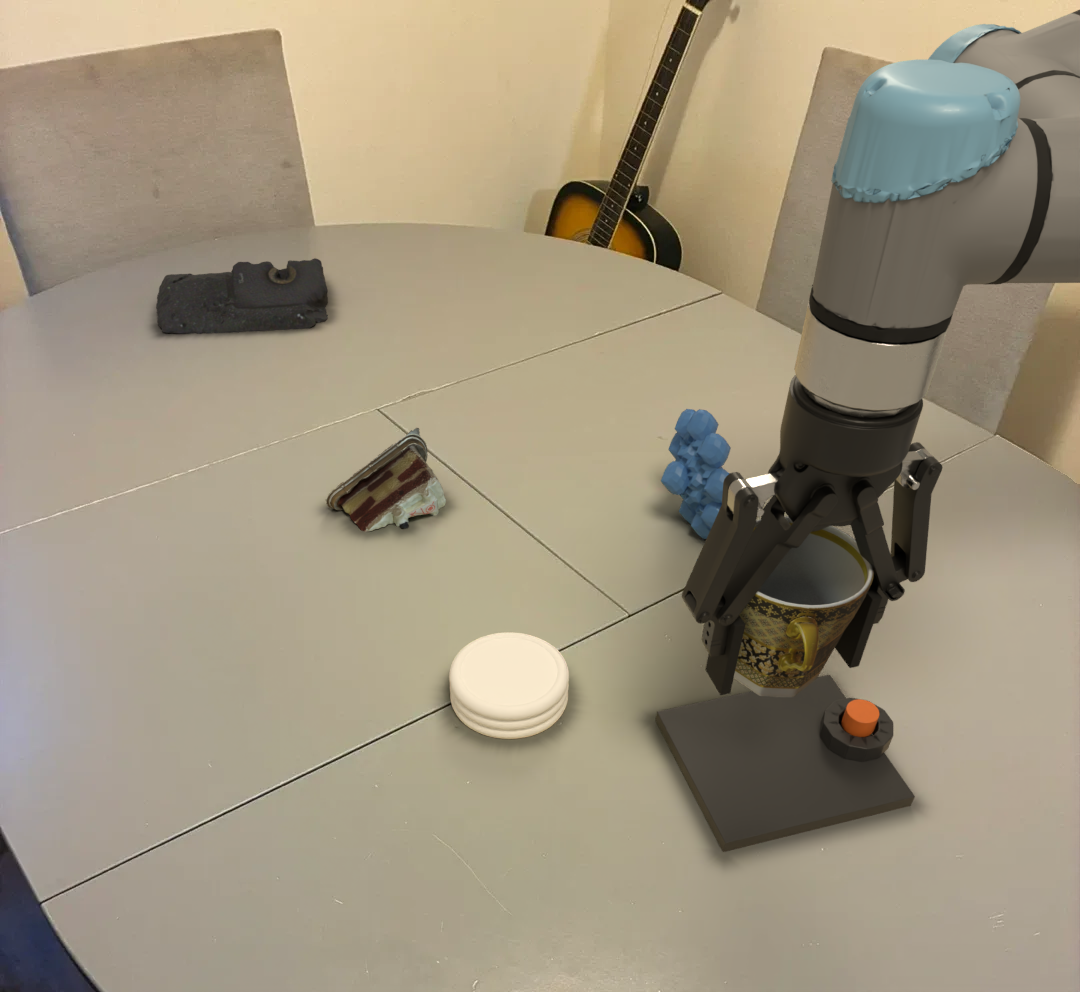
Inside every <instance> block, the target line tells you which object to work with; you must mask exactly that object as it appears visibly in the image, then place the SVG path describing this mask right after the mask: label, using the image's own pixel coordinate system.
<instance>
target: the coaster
mask: <svg viewBox="0 0 1080 992" xmlns="http://www.w3.org/2000/svg"><path fill="white" fill-rule="evenodd" d="M569 670H570V669H569V667H568V664H567V661H566V659H565V657H564V656H563V654H562V653H561V652H560V651H559V650H558V648H557V647H555V646H554V645H553V644H551V643H550V642H548V641H546V640H544V639H543V638H540V637H537V636H535V635H530V634H527V633H523V632H512V631H511V632H510V631H509V632H508V631H506V632H504V631H503V632H495V633H491V634H487V635H483V636H480V637H478V638H476V639H474V640H472V641H470V642H469V643H467V644H466V645H464V646H463V647H462V648H461V649H460V650H458V652H457V653H456V655H454V658H453V660H452V662H451V665H450V668H449V673H448V681H449V694H450V696H449V698H450V699H449V700H450V704H451V706H452V709H453V711H454V713H455V715H456V716H457V718H458V719H459V720H460V721H461V722H462V724H463V725H465V726H466V727H468V728H469V729H470V730H471V731H474V732H476V733H478V734H481V735H483V736H487V737H490V738H494V739H503V740H518V739H524V738H528V737H534V736H535V735H537V734H538V735H539V734H541V733H543V732H544V731H547V730H548V729H549V728H551V727H552V726H553V725H555V724H556V723H557V721H559V720H560V718H561V717H562V716H563V714H564V712H565V709H566V707H567V705H568V700H569V687H570V686H569V683H570V671H569Z"/></svg>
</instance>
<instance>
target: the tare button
mask: <svg viewBox="0 0 1080 992" xmlns="http://www.w3.org/2000/svg"><path fill="white" fill-rule="evenodd" d="M856 699H857V700H853V701H851V702H849V703H848V704H847V707H846V709H845V712H844V715H843V718H842V722H841V723H842V727H843V729H844V730H845V731H846V732H847V733H849V734H850V735H853V736H856V737H867V736H869V735H871V734H872V733H873V731H874V729H875V726H876V723H877V721H878V718H879V710H878V708H877V707H876V706H875V705H876V704H875V703H873V702H872V701H870V702H869V700H867V699H862V700H861V698H856ZM866 700H867V701H866ZM871 702H872V703H871ZM874 704H875V705H874ZM872 735H873V734H872Z"/></svg>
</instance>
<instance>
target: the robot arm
mask: <svg viewBox="0 0 1080 992" xmlns="http://www.w3.org/2000/svg"><path fill="white" fill-rule="evenodd" d="M830 180H831V183H832V184H831V190H830V194H829V200H828V205H827V209H826V216H825V220H824V226H823V231H822V236H821V241H820V245H819V252H818V257H817V262H816V268H815V272H814V277H813V282H812V284H811V287H810V288H811V289H810V294H809V297H808V303H807V306H806V307H807V308H806V313H805V317H804V321H803V326H802V331H801V336H800V339H799V344H798V350H797V354H796V359H795V362H794V363H795V364H794V374H795V375H794V376H793V377H792V378H791V380H790V382H789V387H788V392H787V397H786V401H785V405H784V409H783V414H782V419H781V423H780V431H779V451H778V452H779V453H778V455H777V457H776V459H775V460H774V462H773V463H772V465H771V466H770V468H769V469H768V471H767V473H766V474H761V475H757V476H754V477H749V478H744V477H743V475H742V474H741V472H738V471H732V472H729V473H730V474H729V475H727V476H726V478H725V479H724V482H723V494H722V505H721V508H720V510H719V512H718V514H717V517H716V519H715V521H714V523H713V526H712V528H711V530H710V532H709V534H708V537H707V539H705V541H704V543H703V546H702V548H701V549H700V552H699V554H698V557H697V559H696V561H695V564H694V566H693V568H692V570H691V572H690V574H689V577H688V579H687V581H686V584H685V586H684V588H683V591H682V593H681V599H682V600H683V602H684V603H685V605H686V607H687V609H688V610H689V612H690V613H691V615H692V617H693V618H694V620H695V622H696V623H697V624H703V629H702V634H701V641H702V645H703V646H704V648H705V649H706V651H707V653H708V654H707V659H706V665H705V671H706V674H707V675H708V677H709V678H710V680H711V682H712V683H713V685H714V687H715V688H716V689H715V690H717V692H718V694H719V696H724V695H728V694H731V691H732V687H733V683H734V674H735V669H736V665H737V660H738V656H739V651H740V647H741V642H742V638H743V633H744V629H745V623H744V622H743V620H742V618H741V617H740V613H741V612H742V611H743V610H744V608H745V607H746V606H747V604H748V603H749V602H750V601H751V599H752V598H753V597H754V595H755V594H756V593H757V591H758V590H759V589H760V588H761V586H762V585H763V584H764V582H765V581H766V580H767V579H768V577H769V576H770V575H771V573H772V572H773V571H774V570H775V568H776V567H777V566H778V564H779V563H780V562H781V560H782V559H783V558H784V557H785V555H786V554H787V553H788V551H789V550H790V549H791V548H798V547H799V546H800V545H801V544H802V543H803V542H804V540H805V539H806V538H807V536H808V535H809V534H810V533H811V532H813V531H819V530H821V529H824V528H826V527H829V526H833V527H839V528H840V527H841V528H842V527H848V526H850V528H851V531H852V534H853V538H854V539H855V540H856V543H857V546H858V549H859V552H860V555H861V556H862V557H863V558H865V559H866V560H867V561H868V562H869V563H870V565H871V566H872V567H873V569H874V576H873V581H872V584H871V586H870V588H869V590H868V592H867V594H866V597H865V598H864V600H863V602H862V604H861V606H860V607H859V609H858V611H857V613H856V614H855V616H854V618H853V619H852V621H851V622H850V623H849V625H848V626H847V628H846V629H845V630H844V632H843V634H842V636H841V638H840V640H839V642H838V643H837V645H836V647H835V648H834V650H835V651H836V652H837V653H838V655H839V656H840V657H841V659H842V660H843V661H844V662H845V664H846V665H847V667H848V668H849V669H852V668H856V667H857V668H858V667H859V666H860V663H861V661H862V658H863V655H864V652H865V650H866V646H867V645H868V644H867V643H868V640H869V639H870V635H871V631H872V629H873V626H874V625H875V624H876V625H877V624H879V622H880V621H881V620H882V618H883V616H884V613H885V611H886V607H887V605H888V602H889V601H890V602H895V601H898V600H900V599H901V598H902V597H903V596H904V595H905V591H906V590H905V588H904V587H903V586H902V585H901V583H903V582H905V581H909V582H910V583H915V582H918V581H920V580H921V579H923V577H924V575H925V573H926V564H927V552H928V539H929V529H930V516H931V503H932V494H933V492H934V489H935V487H936V485H937V483H938V480H939V479H940V475H941V473H942V471H943V464H942V463H941V462H940V461H938V460H937V458H936V457H935V456H934V455H933V454H932V453H931V452H930V451H929V450H928V449H927V448H926V447H925V446H924V445H923V444H922V443H920V442H917V441H916V442H913V439H914V435H915V433H916V430H917V427H918V423H919V421H920V417H921V414H922V412H923V407H924V400H923V399H924V398H926V396H927V394H928V392H929V391H930V388H931V384H932V382H933V378H934V375H935V373H936V369H937V365H938V362H939V360H940V357H941V354H942V350H943V346H944V343H945V341H946V337H947V334H948V332H949V331H948V330H949V327H950V325H951V322H952V319H953V314H954V312H955V309H956V307H957V305H958V302H959V299H960V296H961V294H962V291H963V288H964V286H967V285H969V286H970V285H995V286H996V285H1001V284H1002V285H1003V284H1080V9H1077V10H1075V11H1073V12H1070V13H1067V14H1066V15H1063V16H1060V17H1058V18H1056V19H1053V20H1051V21H1049V22H1046V23H1042V24H1041V25H1039V26H1035V27H1034V28H1031V29H1029V30H1026V31H1023V32H1022V31H1020V30H1019V29H1016V27H1013V26H1006V25H998V24H995V23H987V24H986V23H980V24H975V25H970V26H968V27H966V28H965V27H964V28H963V29H961V30H959V31H957V32H954V34H952V35H950V37H948V38H946V39H945V40H944V41H943V42H942V43H941V44H939V46H938V47H936V49H934V51H933V52H932V53H931V55H929V57H928V59H909V60H902V61H897V62H892V63H889V64H887V65H884V66H882V67H880V68H879V69H877V70H875V71H874V72H872V73H871V74H869V76H867V78H865V80H864V81H863V82H862V84H861V85H860V87H859V88H858V91H857V93H856V96H855V97H854V101H853V105H852V108H851V112H850V114H849V116H848V118H847V122H846V125H845V129H844V134H843V137H842V141H841V144H840V148H839V153H838V155H837V159H836V162H835V163H834V166H833V170H832V175H831V179H830ZM912 442H913V443H912ZM892 484H893V497H892V519H891V521H892V522H891V541H890V547H889V545H888V541H887V538H886V535H885V530H884V527H883V526H884V525H885V522H884V518H883V515H882V511H881V509H880V505H879V498H880V497H881V496H882V495H883V494H884V493H885V492H886V491H887V490H888V489H889V487H891V485H892ZM766 502H767V503H766ZM785 514H786V515H787V516H789V518H790V519H791V520H792V522H793V524H792V525H790V524H789V522H788V521H787V520H786V518H785V517H784V516H785ZM757 518H760V519H761V521H760V523H759V524H758V526H757V527H756V528H755V530H754V527H755V524H756V520H758V519H757ZM753 530H754V531H753Z"/></svg>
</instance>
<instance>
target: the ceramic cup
mask: <svg viewBox="0 0 1080 992" xmlns="http://www.w3.org/2000/svg"><path fill="white" fill-rule="evenodd" d="M784 517H785V518H786V520H787V521H788V522H789V524H790V525H792V524H793V522H792V520H791V519H790V518H789V516H788V515H787V516H786V515H784ZM760 521H761V518H759V519H756V524H755V527H754V530H755V528H756V527H757V526H758V524H759V523H760ZM754 530H753V531H754ZM873 576H874V569H873V567H872V566H871V565H870V563H869V562H868V561H867V560H866V559H865V558H863V557H862V556H861V555H860V552H859V549H858V546H857V543H856V540H855V537H853V536H851V535H850V534H848V533H846V532H845V531H843V530H842V529H840V528H837V527H836V526H829V527H826V528H824V529H821V530H819V531H813V532H811V533H810V534H809V535H808V536H807V538H806V539H805V540H804V542H803V543H802V544H801V545H800V546H799V547H798V548H791V549H790V550H789V551H788V553H787V554H786V555H785V557H784V558H783V559H782V560H781V562H780V563H779V564H778V566H777V567H776V568H775V570H774V571H773V572H772V573H771V575H770V576H769V577H768V579H767V580H766V581H765V582H764V584H763V585H762V586H761V588H760V589H759V590H758V591H757V593H756V594H755V595H754V597H753V598H752V599H751V601H750V602H749V603H748V604H747V606H746V607H745V608H744V610H743V611H742V612H741V613H740V617H741V618H742V620H743V622H744V623H745V629H744V633H743V638H742V642H741V647H740V651H739V656H738V660H737V665H736V669H735V674H734V678H733V680H735V681H736V682H738V683H739V684H740V685H742V686H744V687H746V688H747V689H748V690H750V691H753V692H754V693H756V694H757V695H759V696H770V697H794V696H795V695H796V694H798V693H799V692H800V691H802V690H803V689H804V688H805V687H807V686H808V685H809V684H811V683H812V682H813V681H814V680H815V679H817V677H820V674H821V673H822V671H823V669H824V668H825V666H826V664H827V663H828V660H829V658H830V657H831V655H832V653H833V651H834V650H835V647H836V645H837V643H838V642H839V640H840V638H841V636H842V634H843V632H844V630H845V629H846V628H847V626H848V625H849V623H850V622H851V621H852V619H853V618H854V616H855V614H856V613H857V611H858V609H859V607H860V606H861V604H862V602H863V600H864V598H865V597H866V594H867V592H868V590H869V588H870V586H871V584H872V581H873Z"/></svg>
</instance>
